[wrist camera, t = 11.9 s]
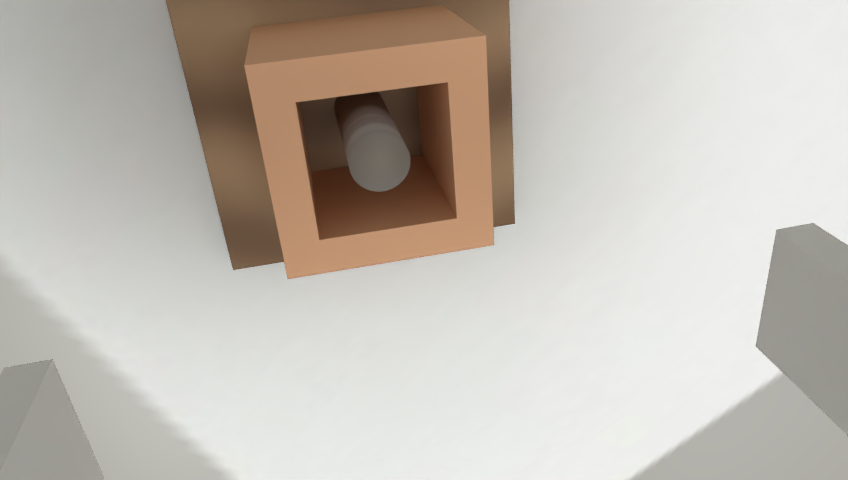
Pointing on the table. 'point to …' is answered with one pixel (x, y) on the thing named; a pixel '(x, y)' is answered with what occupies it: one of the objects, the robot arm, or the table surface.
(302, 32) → the collar
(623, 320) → the table surface
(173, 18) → the post board
